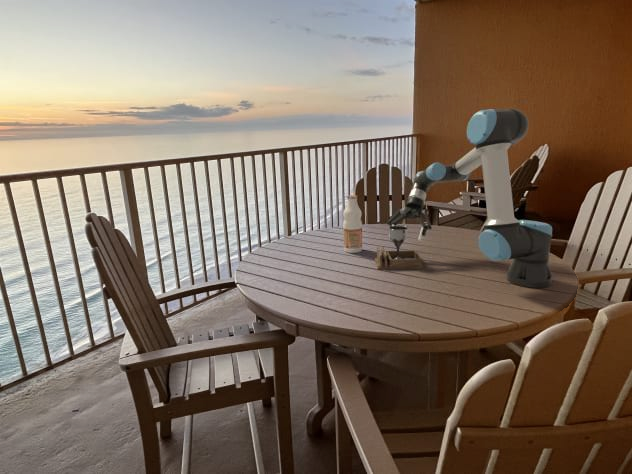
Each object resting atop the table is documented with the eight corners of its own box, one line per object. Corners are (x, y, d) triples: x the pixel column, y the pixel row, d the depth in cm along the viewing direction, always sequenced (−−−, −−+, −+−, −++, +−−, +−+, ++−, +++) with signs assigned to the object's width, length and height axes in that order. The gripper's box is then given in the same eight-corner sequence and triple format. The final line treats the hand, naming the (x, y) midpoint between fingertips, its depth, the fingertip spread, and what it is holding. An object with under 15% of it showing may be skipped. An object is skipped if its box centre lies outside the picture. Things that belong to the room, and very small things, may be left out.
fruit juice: (339, 250, 193) (338, 196, 186) (352, 246, 199) (351, 193, 192) (353, 254, 186) (353, 197, 179) (366, 250, 192) (365, 195, 185)
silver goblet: (405, 257, 175) (406, 225, 172) (407, 262, 168) (408, 229, 164) (388, 257, 176) (388, 225, 173) (389, 262, 169) (389, 229, 165)
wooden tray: (422, 268, 163) (422, 255, 161) (378, 269, 164) (378, 256, 162) (415, 258, 176) (416, 246, 175) (374, 259, 178) (374, 247, 176)
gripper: (444, 207, 174) (434, 247, 165) (392, 204, 187) (380, 240, 179) (442, 197, 168) (430, 238, 160) (388, 194, 181) (376, 232, 173)
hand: (404, 239), depth 169 cm, fingers open, 13 cm apart
